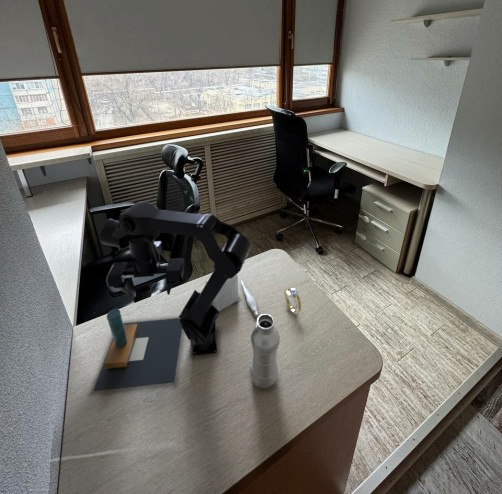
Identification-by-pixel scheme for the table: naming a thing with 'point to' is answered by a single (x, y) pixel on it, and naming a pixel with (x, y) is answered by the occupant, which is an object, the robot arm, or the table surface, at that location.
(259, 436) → the table surface
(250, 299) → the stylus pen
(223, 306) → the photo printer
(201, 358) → the table surface
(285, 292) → the gold diamond ring
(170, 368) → the desk mat
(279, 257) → the table surface
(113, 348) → the peg on wooden base
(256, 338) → the plastic bottle
